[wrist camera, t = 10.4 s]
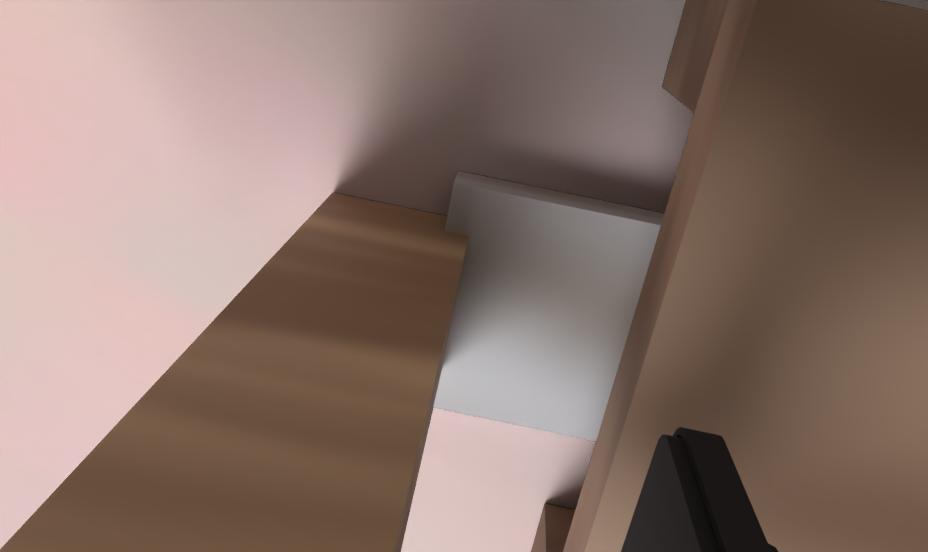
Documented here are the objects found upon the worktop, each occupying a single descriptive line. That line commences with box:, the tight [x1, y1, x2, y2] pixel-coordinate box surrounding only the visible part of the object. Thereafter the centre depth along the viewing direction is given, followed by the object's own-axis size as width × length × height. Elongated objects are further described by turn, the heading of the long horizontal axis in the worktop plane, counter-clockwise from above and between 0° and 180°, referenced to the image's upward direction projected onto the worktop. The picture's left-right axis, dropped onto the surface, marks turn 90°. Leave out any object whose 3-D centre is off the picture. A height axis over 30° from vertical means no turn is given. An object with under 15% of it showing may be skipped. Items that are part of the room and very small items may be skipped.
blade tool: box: [0, 171, 664, 552], centre depth 11 cm, size 5×18×13 cm, turn 79°
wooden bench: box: [531, 0, 928, 552], centre depth 15 cm, size 14×10×5 cm
